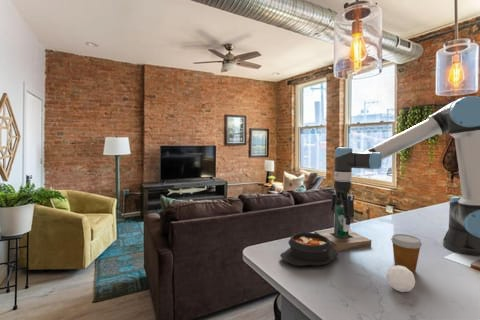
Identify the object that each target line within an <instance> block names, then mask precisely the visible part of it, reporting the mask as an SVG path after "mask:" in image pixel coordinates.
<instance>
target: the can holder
mask: <svg viewBox="0 0 480 320" xmlns="http://www.w3.org/2000/svg"><path fill="white" fill-rule="evenodd" d="M313 233H315V234H319V235H322V236H325V237H326V238H328V239H329V242H330V244H331V245H332V249H334V250H336V251H337V252H343V251H348V250H351V251H352V250H358V249H363V248H364V249H365V248H371V247H372V239H369V238H368V237H366V236H363V235H361V234H359V233H357V232H355V231H353V230H351V229H349V237H348V238H346V239H339V238H336V237H335V236H334V228H331V229H322V230H314V232H313Z"/></svg>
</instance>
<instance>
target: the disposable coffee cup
mask: <svg viewBox="0 0 480 320" xmlns="http://www.w3.org/2000/svg"><path fill="white" fill-rule="evenodd" d="M390 240H391V242H392V250H393V259H394V260H393V261H394V266H396V265H398V266H404V267H406V268H407V269H408V270H410V271H411V272H412V273H413V274H415V273H416V271H417V270H416V269H417V265H418V262H419V255H420V250H421V247H422V245H423V244H422V242H421V239H420V238H419V237H416V236H413V235H410V234H404V233H394V234H393V235H392V237H391V238H390Z"/></svg>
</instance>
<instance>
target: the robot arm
mask: <svg viewBox="0 0 480 320" xmlns="http://www.w3.org/2000/svg"><path fill="white" fill-rule="evenodd" d="M445 133H448V135H449V136H451V137H452V138H453V139H454V144H455V150H456V151H455V152H456V160H457V165H458V175H459V183H460V189H461V196H456V195H455V196H451V197H450V200H449V202H448V203H449V211H448V212H449V213H448V229H447V231H446V233H445V235H444V237H443V239H442V245H443V247H445V248H446V249H448V250H451V251H454V252H456V253H460V254H464V255H469V256H470V255H471V256H480V96H476V95H475V96H474V95H471V96H469V95H468V96H463V97H460V98H458V99H456V100H454V101H452V102H449V103H448V104H446V105H445V106H444V107H441V108H440V109H439V110H438V111H436V112H434V113H432V114H430V115H428V116H427V119H426V120H423V121H421V122H419V123H417V124H416V125H413V126H412V127H410V128H408V129H406V130H404V131H402V132H400V133H397V134H396V135H393V136H392V137H390V138H388V139H386V140H384V141H381V142H380V143H378V144H376V145H374V146H372V147H370V148H368V149H366V150H363V151H353V148H352V147H336V148H335V150H334V175H333V177H334V182H333V188H334V189H335V190H332V191H331V204H330V211H332V213H333V221H334V220H335V204H336V205H339V204H343V207H344V214H345V217H344V225H343V231H344V232H346V231H349V230H350V225H351V219H352V218H355V207H354V206H355V205H354V204H355V203H354V202H355V201H354V200H355V195H351V193H350V190H351V189H352V179H353V178H352V177H353V176H352V175H353V174H352V169H365V170H366V169H367V170H379V169H381V168H382V164H383V163H382V161H383V160H385V159H387V158H389V157H391V156H394V155H395V154H398V153H399V152H402V151H403V150H405V149H408V148H410V147H413V146H414V145H417V144H419V143H421V142H422V141H425V140H428V139H429V138H431V137H434V136H436V135H443V134H445ZM347 214H348V215H347Z"/></svg>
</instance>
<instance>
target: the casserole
mask: <svg viewBox="0 0 480 320" xmlns="http://www.w3.org/2000/svg"><path fill="white" fill-rule="evenodd" d="M288 245H289V248H287V250H285V251H283V252H282V253H280V255H279V256H280V258H281V259H282V260H283V261H285V262H287V263H288V264H291V265H293V266H297V267H298V266H299V267H300V266H321V265H327V264H329V263H331V262H333V261H334V259H335V258H336V257H337V256H339V251H336V250H334V249H332V245H331V244H330V242H329V239H328V238H326V237H325V236H322V235H319V234H315V233H314V232H298V233H294V234H293V235H291V236H290V239H289V240H288Z"/></svg>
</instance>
